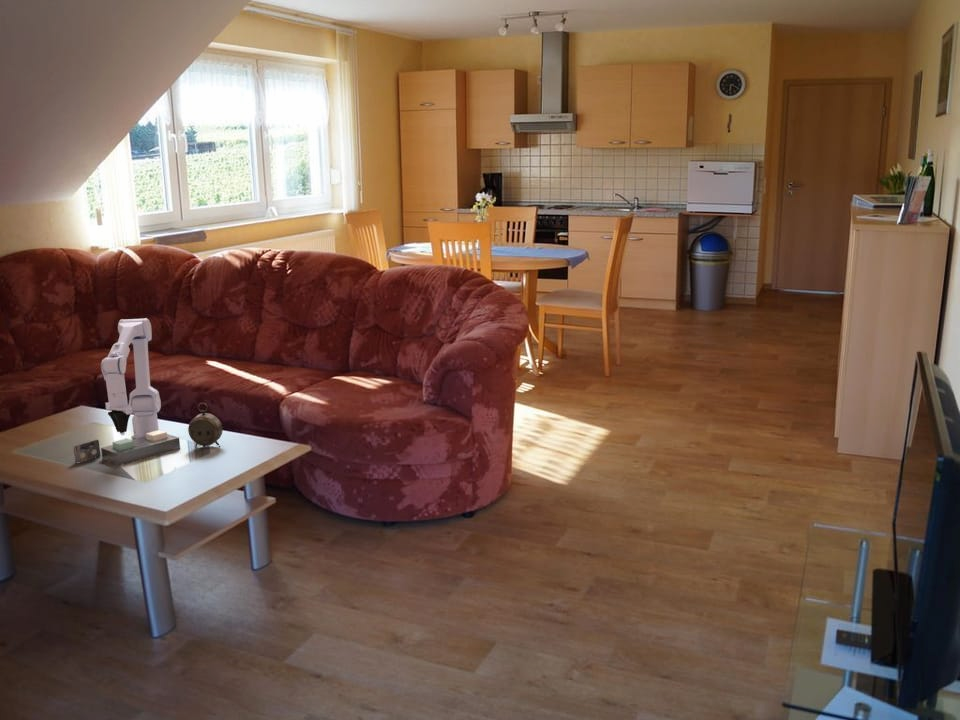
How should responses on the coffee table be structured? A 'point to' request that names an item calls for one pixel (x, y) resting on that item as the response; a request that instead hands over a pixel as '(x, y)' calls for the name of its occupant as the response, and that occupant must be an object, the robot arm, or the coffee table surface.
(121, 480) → the coffee table surface
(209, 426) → the alarm clock
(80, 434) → the coffee table surface
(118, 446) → the teal key
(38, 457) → the coffee table surface
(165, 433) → the white key
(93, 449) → the mini dv tape
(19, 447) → the coffee table surface
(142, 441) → the key housing
